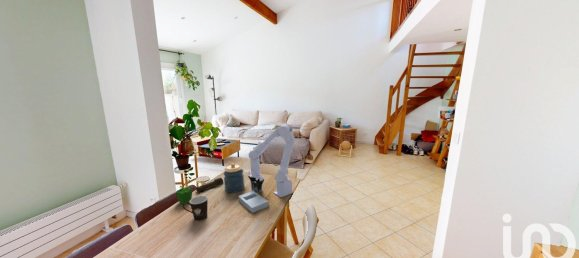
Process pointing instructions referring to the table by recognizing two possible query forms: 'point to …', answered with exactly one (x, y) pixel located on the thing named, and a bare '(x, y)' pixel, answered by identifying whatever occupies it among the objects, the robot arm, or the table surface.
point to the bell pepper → (184, 195)
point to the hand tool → (209, 185)
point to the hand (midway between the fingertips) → (256, 187)
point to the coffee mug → (198, 207)
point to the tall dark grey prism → (255, 187)
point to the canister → (233, 178)
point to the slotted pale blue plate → (253, 201)
